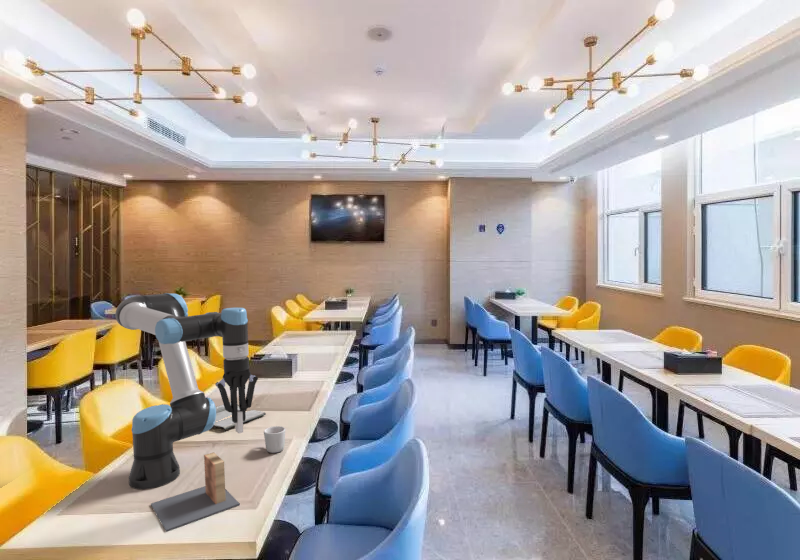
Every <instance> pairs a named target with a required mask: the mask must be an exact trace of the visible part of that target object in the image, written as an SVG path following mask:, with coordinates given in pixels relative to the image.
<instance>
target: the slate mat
mask: <svg viewBox="0 0 800 560" xmlns="http://www.w3.org/2000/svg"><path fill="white" fill-rule="evenodd" d="M225 496H226V501H223V502H220V503H217V504H215V503H214V502H213V501H212V499H211V498H210V497H209V496H208V495H207V494H206V488H205V485H204V486H201V487H198V488H194V489H191V490H187V491H186V492H181V493H179V494H175V495H173V496H170V497H167V498H163V499H159V500H158V501H154V502H152V503H150V506H151V508H152V509H154V510H153V511H154V513H155V515H156V514H157V515H156V517H157V518H158V519H159V522H160V521H161V522H160V523H161V526H162V527H163V528H164V530H165V532H166V533H167V532H170V531H172V530H174V529H177V528H180V527H181V528H182V527H184V526H186V525H188V524H192V523H194V522H197V521H200V520H203V519H206V518H208V517H211V516H214V515H216V514H219V513H222V512H225V511H227V510H230V509H233V508H236V507H239V506H240V504H241V503H239V501H238V500H237V499H236V498H235V497H234V496H233V495H232V493H230V492H229V491H228V490H227V489H226V488H225Z"/></svg>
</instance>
